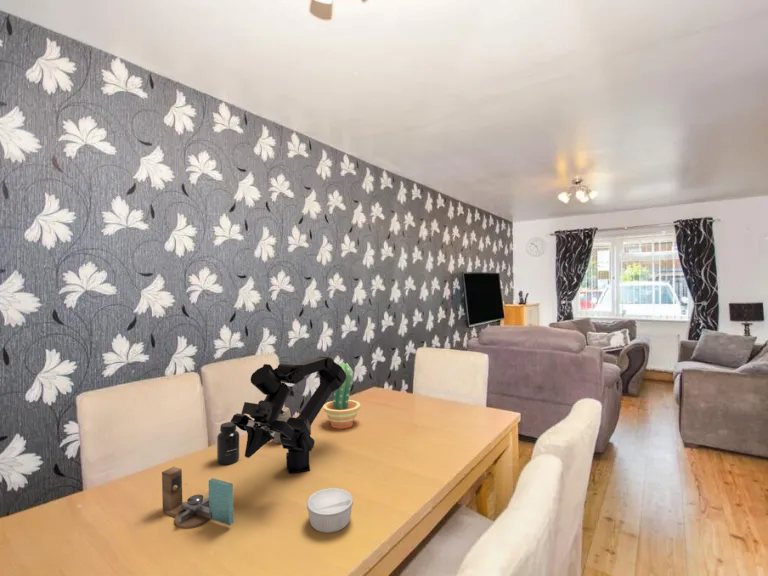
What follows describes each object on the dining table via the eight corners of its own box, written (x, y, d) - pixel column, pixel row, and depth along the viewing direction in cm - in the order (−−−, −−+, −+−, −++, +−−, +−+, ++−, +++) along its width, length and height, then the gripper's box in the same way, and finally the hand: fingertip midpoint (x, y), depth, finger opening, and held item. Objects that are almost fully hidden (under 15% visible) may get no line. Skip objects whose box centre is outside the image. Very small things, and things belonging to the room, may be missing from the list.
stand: (183, 498, 104) (183, 461, 104) (223, 511, 98) (222, 472, 98) (151, 517, 96) (150, 477, 96) (192, 532, 90) (191, 489, 90)
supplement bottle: (231, 466, 122) (231, 428, 122) (212, 464, 124) (212, 427, 124) (243, 456, 129) (243, 421, 129) (225, 455, 130) (224, 420, 130)
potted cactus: (368, 422, 160) (367, 362, 160) (345, 434, 147) (344, 369, 147) (339, 415, 168) (338, 358, 168) (315, 426, 155) (314, 365, 155)
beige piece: (268, 444, 139) (268, 411, 138) (279, 436, 146) (278, 405, 146) (284, 446, 137) (284, 412, 137) (294, 437, 144) (293, 406, 144)
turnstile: (198, 498, 102) (197, 463, 102) (245, 513, 95) (244, 476, 95) (166, 517, 94) (166, 479, 93) (216, 535, 87) (215, 494, 87)
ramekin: (333, 542, 86) (333, 519, 86) (296, 526, 92) (296, 504, 91) (362, 516, 95) (362, 495, 95) (327, 503, 101) (327, 483, 101)
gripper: (234, 385, 110) (202, 438, 100) (285, 392, 101) (256, 451, 92) (255, 404, 117) (228, 455, 107) (305, 411, 109) (280, 468, 99)
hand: (246, 457), depth 101 cm, fingers closed
